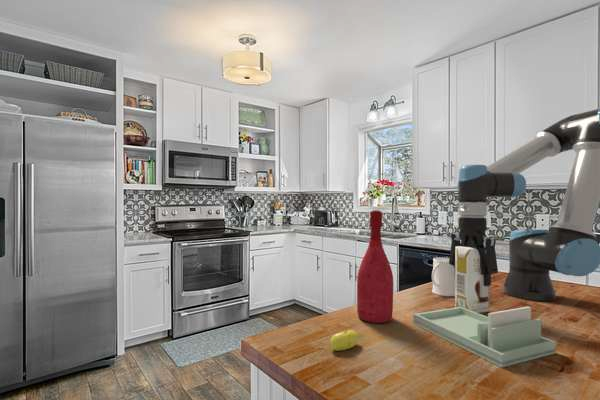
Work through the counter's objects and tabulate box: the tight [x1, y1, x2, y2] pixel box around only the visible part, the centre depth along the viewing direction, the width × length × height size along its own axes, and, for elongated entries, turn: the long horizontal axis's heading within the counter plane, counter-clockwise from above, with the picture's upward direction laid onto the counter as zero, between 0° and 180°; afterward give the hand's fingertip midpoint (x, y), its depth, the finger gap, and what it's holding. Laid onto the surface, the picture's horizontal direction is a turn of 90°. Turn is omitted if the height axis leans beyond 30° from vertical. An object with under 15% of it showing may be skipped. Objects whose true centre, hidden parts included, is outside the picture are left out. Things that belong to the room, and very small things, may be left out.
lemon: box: [329, 329, 360, 352], centre depth 74 cm, size 4×8×4 cm, turn 124°
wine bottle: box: [356, 209, 394, 324], centre depth 92 cm, size 10×10×30 cm
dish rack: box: [413, 306, 557, 368], centre depth 81 cm, size 17×25×9 cm
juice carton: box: [454, 246, 490, 314], centre depth 100 cm, size 8×9×19 cm
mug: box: [431, 257, 455, 297], centre depth 118 cm, size 12×8×12 cm
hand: (471, 292), depth 100 cm, fingers closed on juice carton, 8 cm apart
